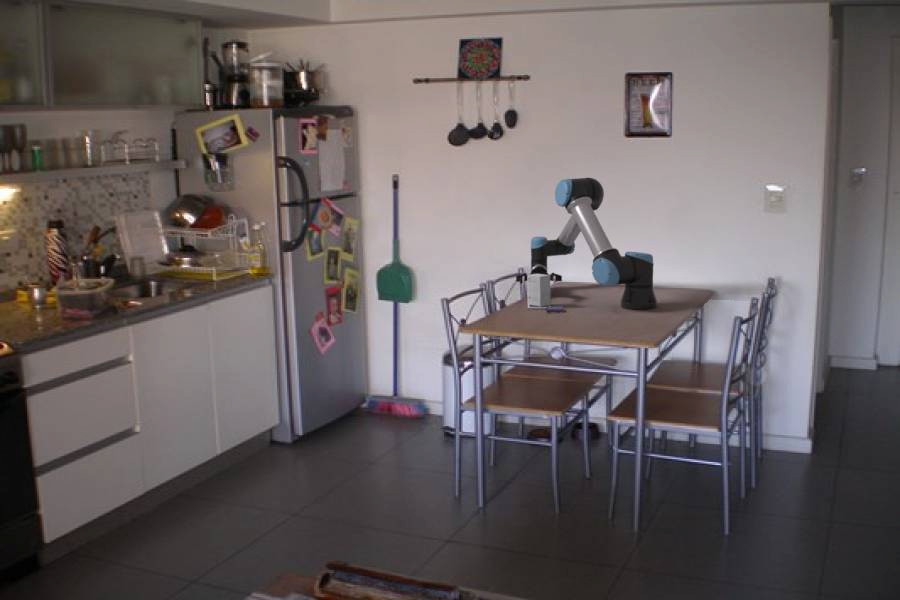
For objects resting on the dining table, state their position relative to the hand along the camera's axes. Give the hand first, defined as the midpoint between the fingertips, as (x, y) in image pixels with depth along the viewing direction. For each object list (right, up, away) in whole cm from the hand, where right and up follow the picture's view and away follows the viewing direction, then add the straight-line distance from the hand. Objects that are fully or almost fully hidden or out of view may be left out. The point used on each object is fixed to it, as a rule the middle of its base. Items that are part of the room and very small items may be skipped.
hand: (538, 281), depth 426 cm
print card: (0, -11, -6) cm, 13 cm away
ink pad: (+5, -13, -16) cm, 21 cm away
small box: (-1, -10, -6) cm, 12 cm away
